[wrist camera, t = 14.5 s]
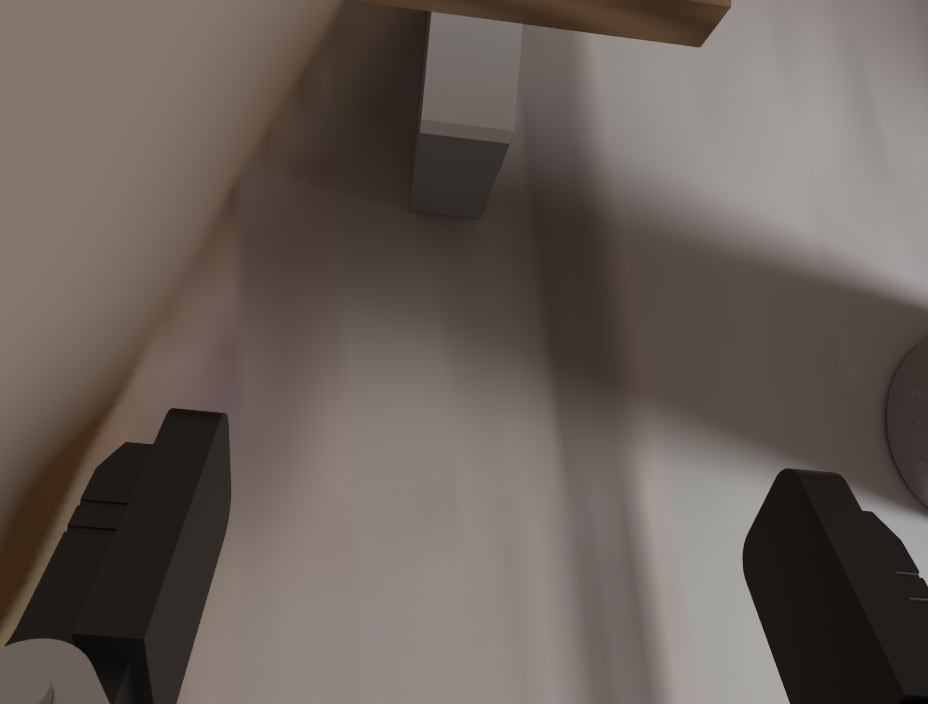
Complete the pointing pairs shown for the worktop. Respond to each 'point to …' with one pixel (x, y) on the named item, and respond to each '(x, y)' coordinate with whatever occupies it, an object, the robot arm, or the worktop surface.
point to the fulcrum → (464, 112)
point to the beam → (592, 15)
